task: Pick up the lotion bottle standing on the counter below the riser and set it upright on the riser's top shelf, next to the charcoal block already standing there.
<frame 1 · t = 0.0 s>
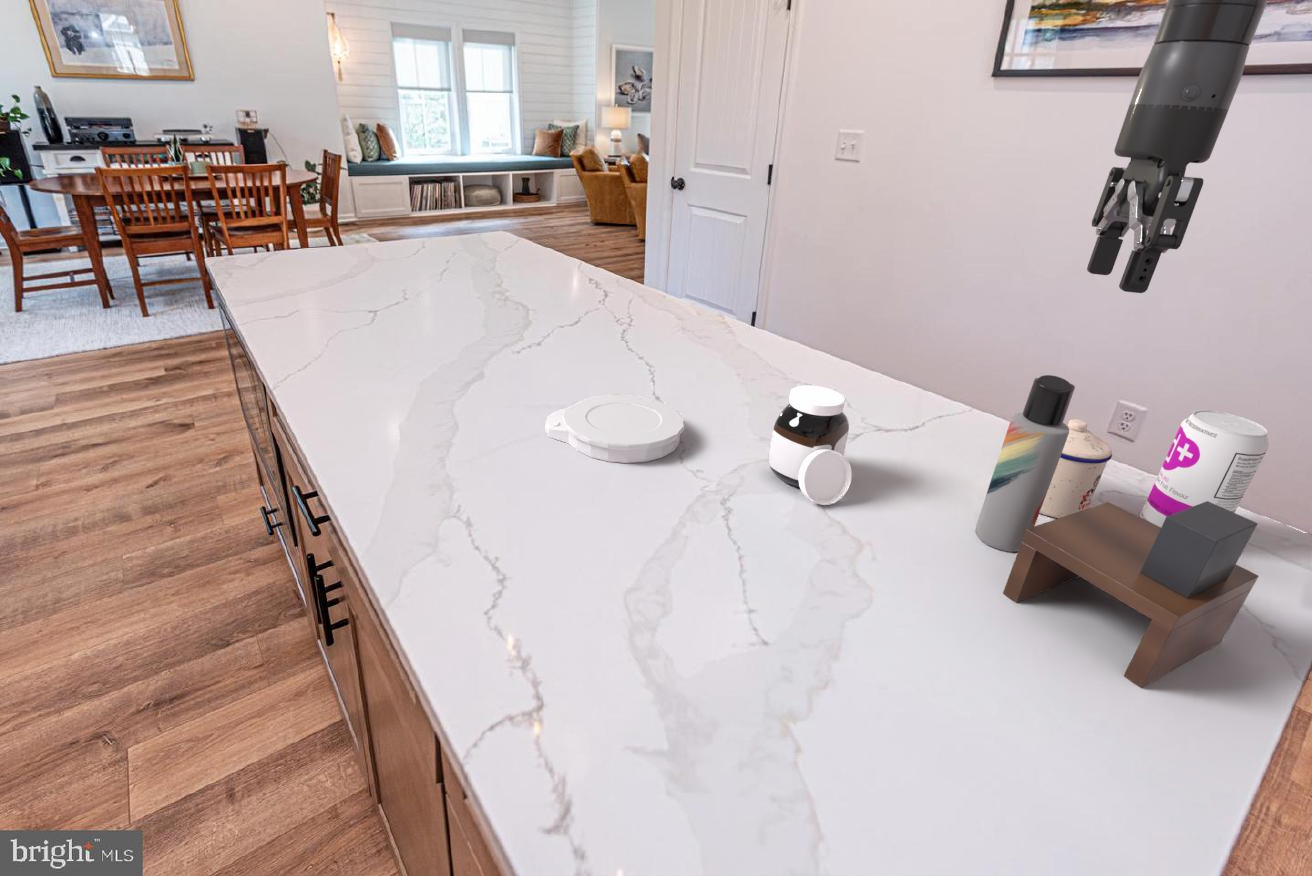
hand: (1113, 282, 68), 30 cm above the worktop, tool pointing down, fingers open, 8 cm apart
supplement can: (1175, 533, 84), on the worktop
charcoal block: (1183, 575, 61), point 8 cm above the worktop, touching riser
lotion bottle: (999, 540, 80), on the worktop
riser: (1108, 617, 68), on the worktop
spread jar: (809, 484, 89), on the worktop
lid: (613, 436, 98), on the worktop
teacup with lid: (1046, 498, 90), on the worktop
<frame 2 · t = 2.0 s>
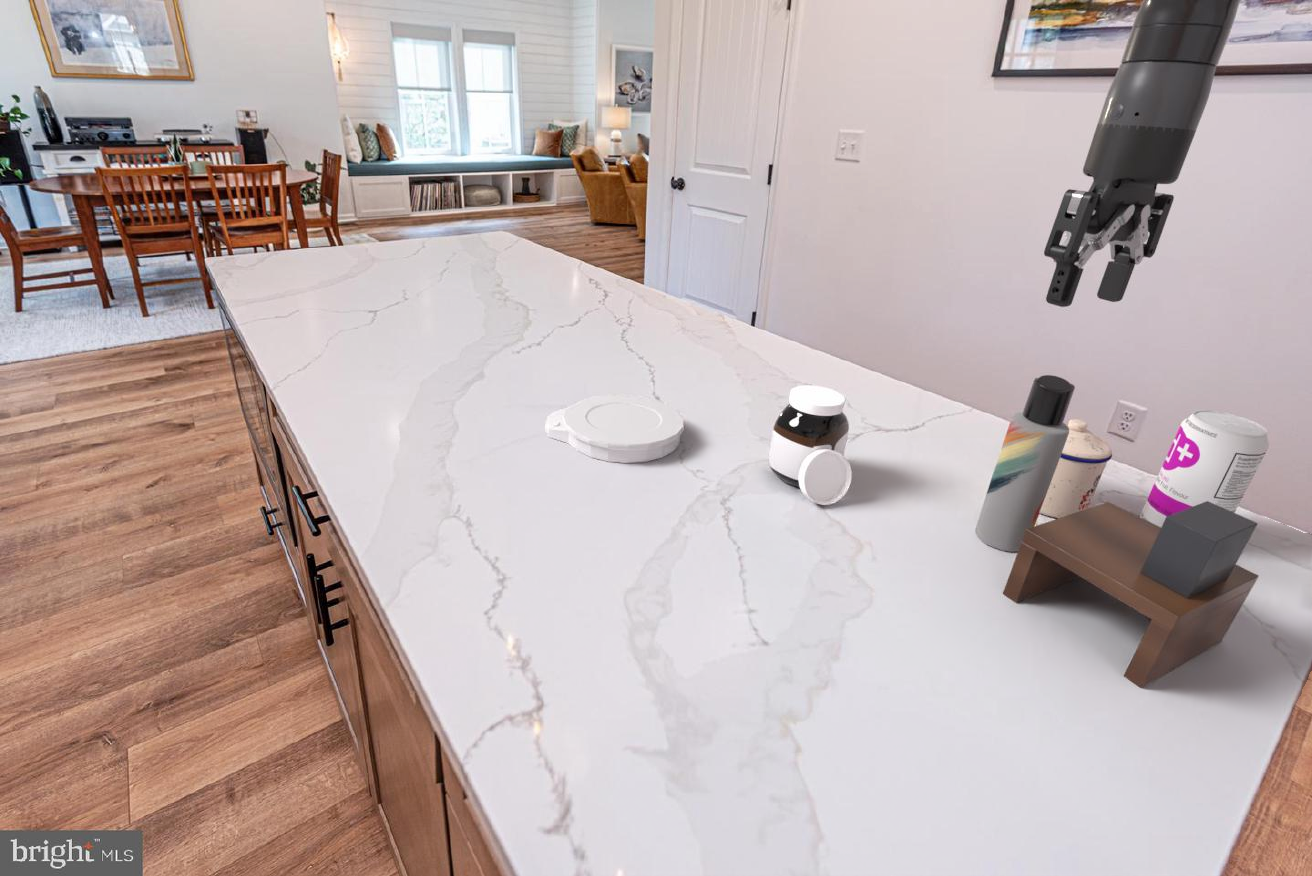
hand: (1083, 302, 67), 28 cm above the worktop, tool pointing down, fingers open, 8 cm apart
nothing on the worktop moved.
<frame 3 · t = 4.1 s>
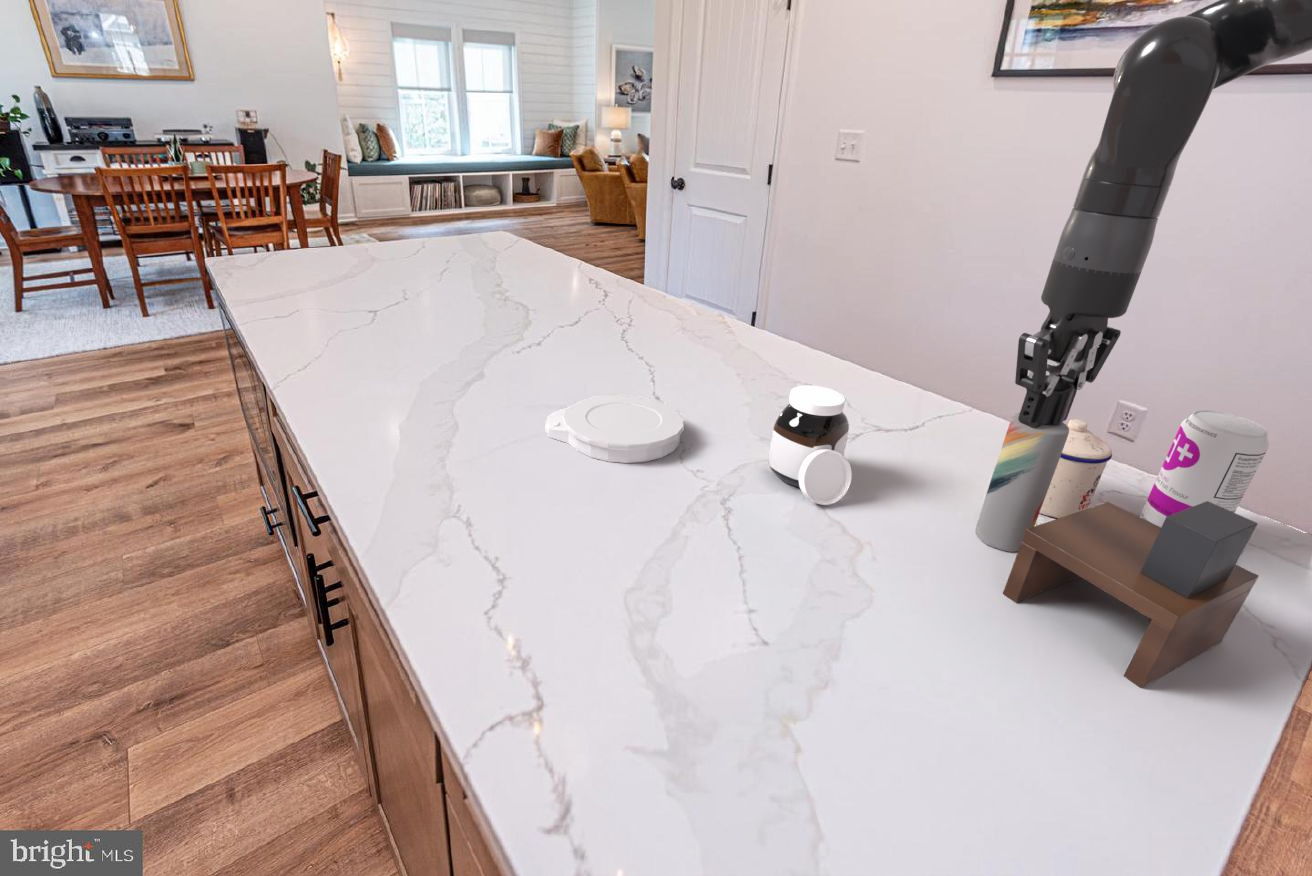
hand: (1041, 421, 73), 15 cm above the worktop, tool pointing down, fingers closed on lotion bottle, 4 cm apart
lotion bottle: (999, 540, 80), on the worktop, touching gripper
everything else where it was.
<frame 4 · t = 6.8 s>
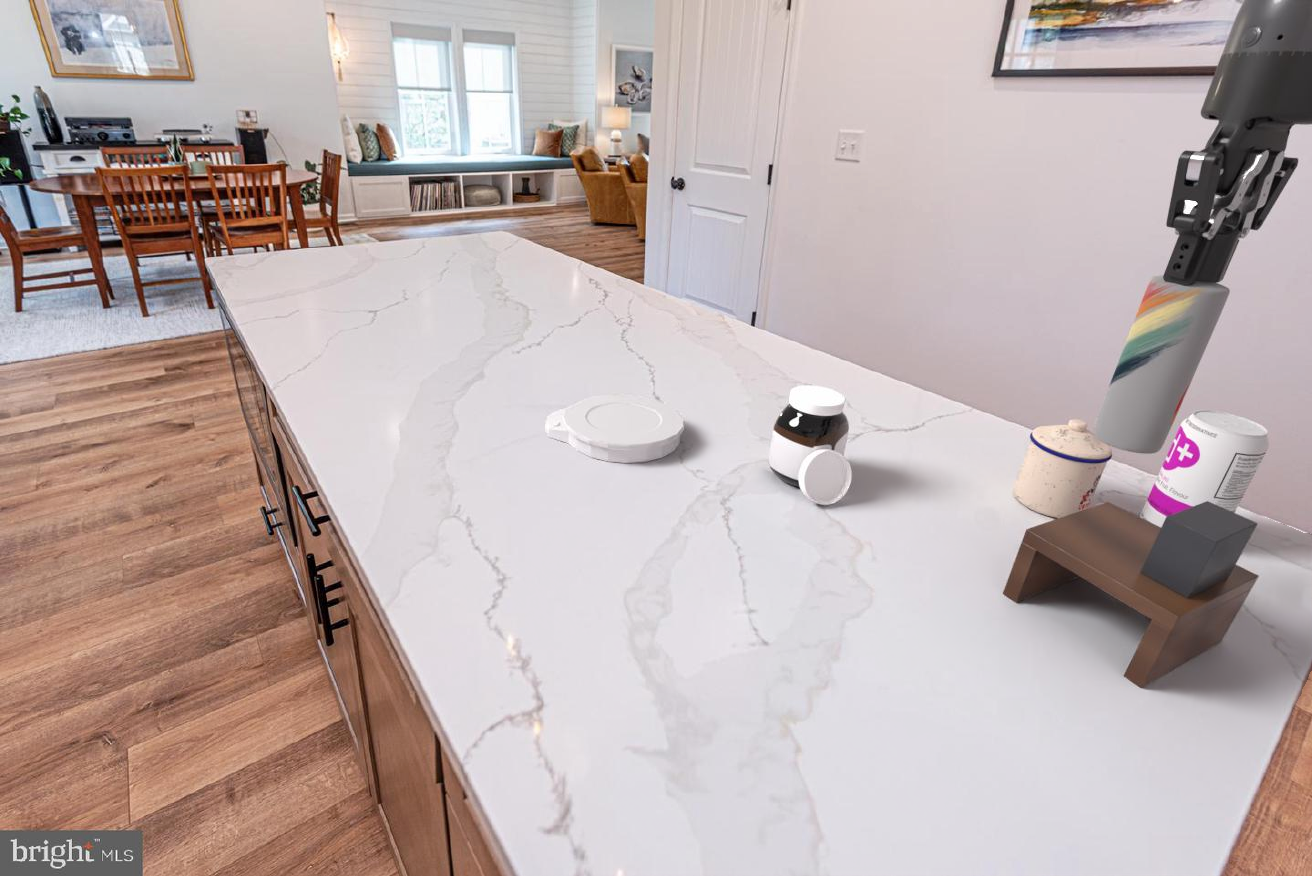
hand: (1191, 281, 58), 33 cm above the worktop, tool pointing down, fingers closed on lotion bottle, 4 cm apart
lotion bottle: (1124, 443, 64), point 17 cm above the worktop, touching gripper
everything else where it was.
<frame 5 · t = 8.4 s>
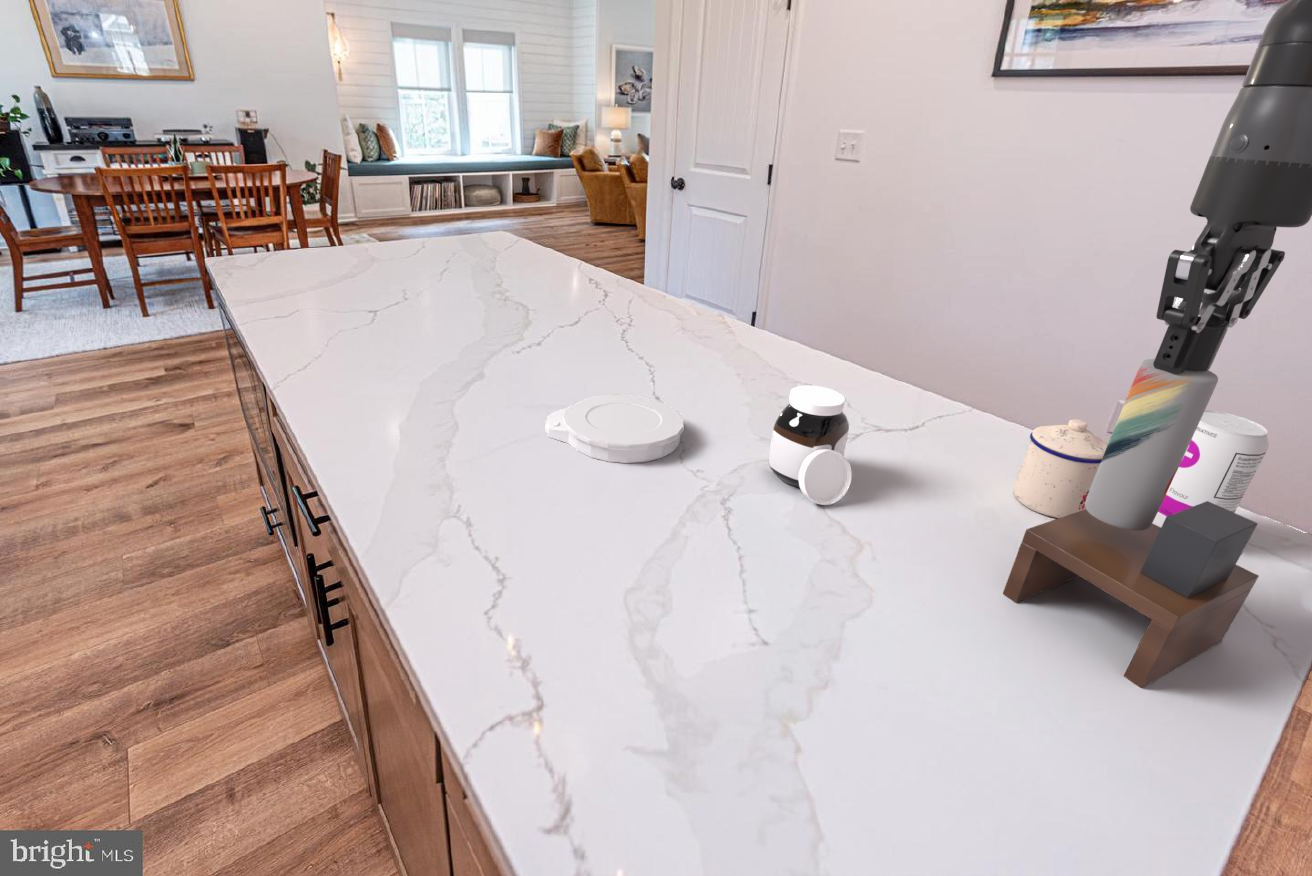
hand: (1181, 367, 59), 26 cm above the worktop, tool pointing down, fingers closed on lotion bottle, 4 cm apart
lotion bottle: (1115, 517, 66), point 10 cm above the worktop, touching gripper
everything else where it was.
when the fingers open (23 cm above the worktop, at t = 9.5 s): lotion bottle stays where it is, resting on riser.
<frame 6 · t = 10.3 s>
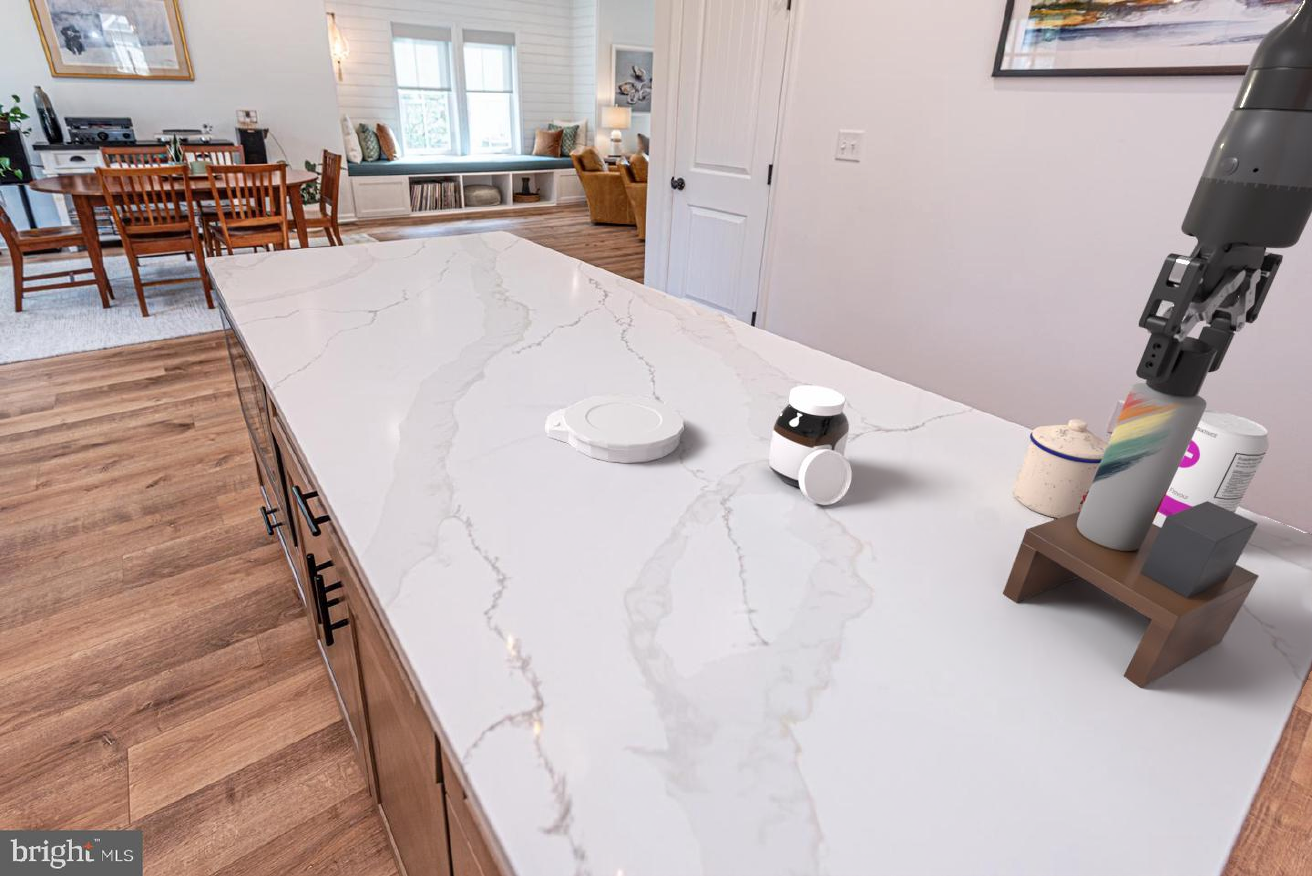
hand: (1176, 374, 59), 25 cm above the worktop, tool pointing down, fingers open, 8 cm apart
lotion bottle: (1106, 537, 67), point 8 cm above the worktop, touching riser
everything else where it was.
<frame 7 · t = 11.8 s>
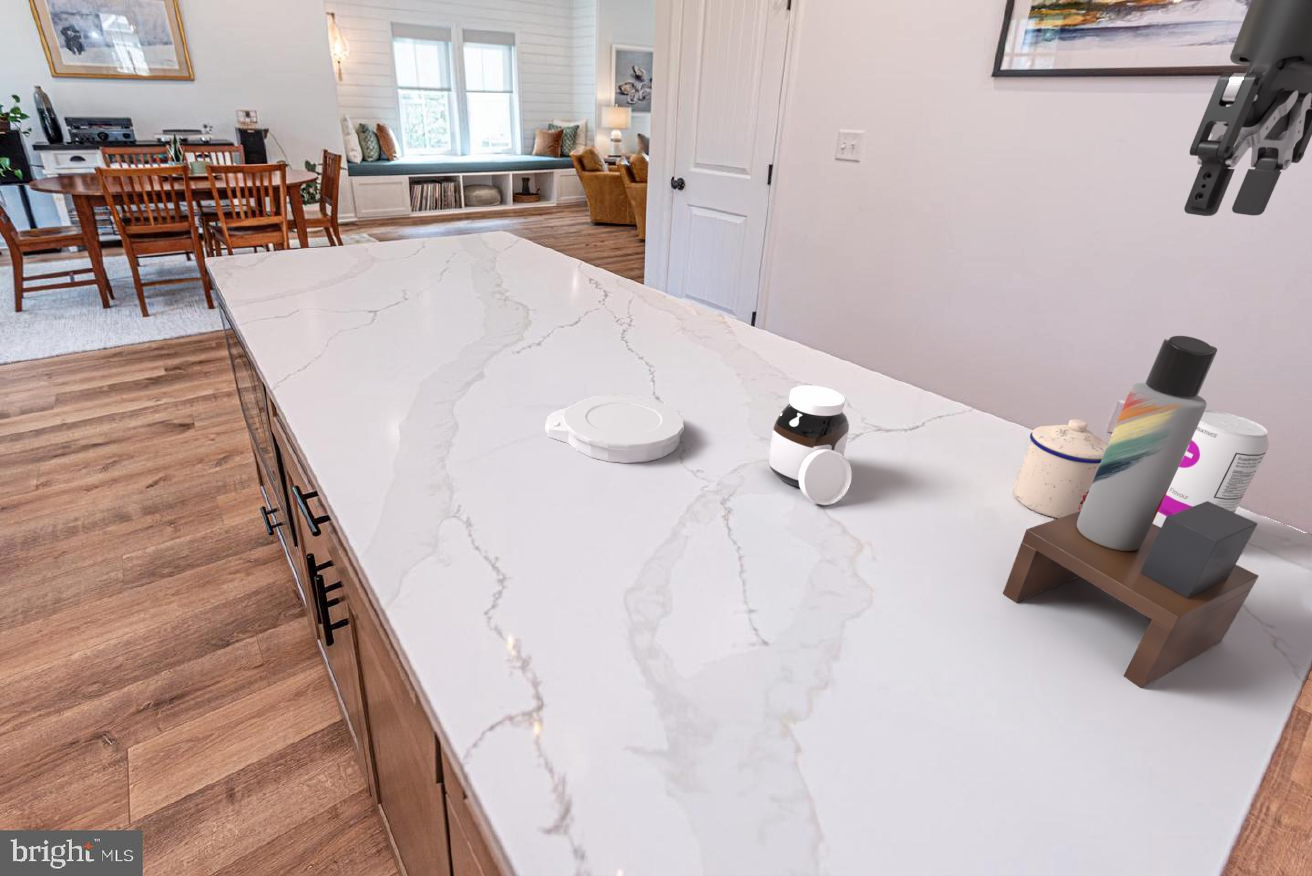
hand: (1223, 214, 59), 38 cm above the worktop, tool pointing down, fingers open, 8 cm apart
nothing on the worktop moved.
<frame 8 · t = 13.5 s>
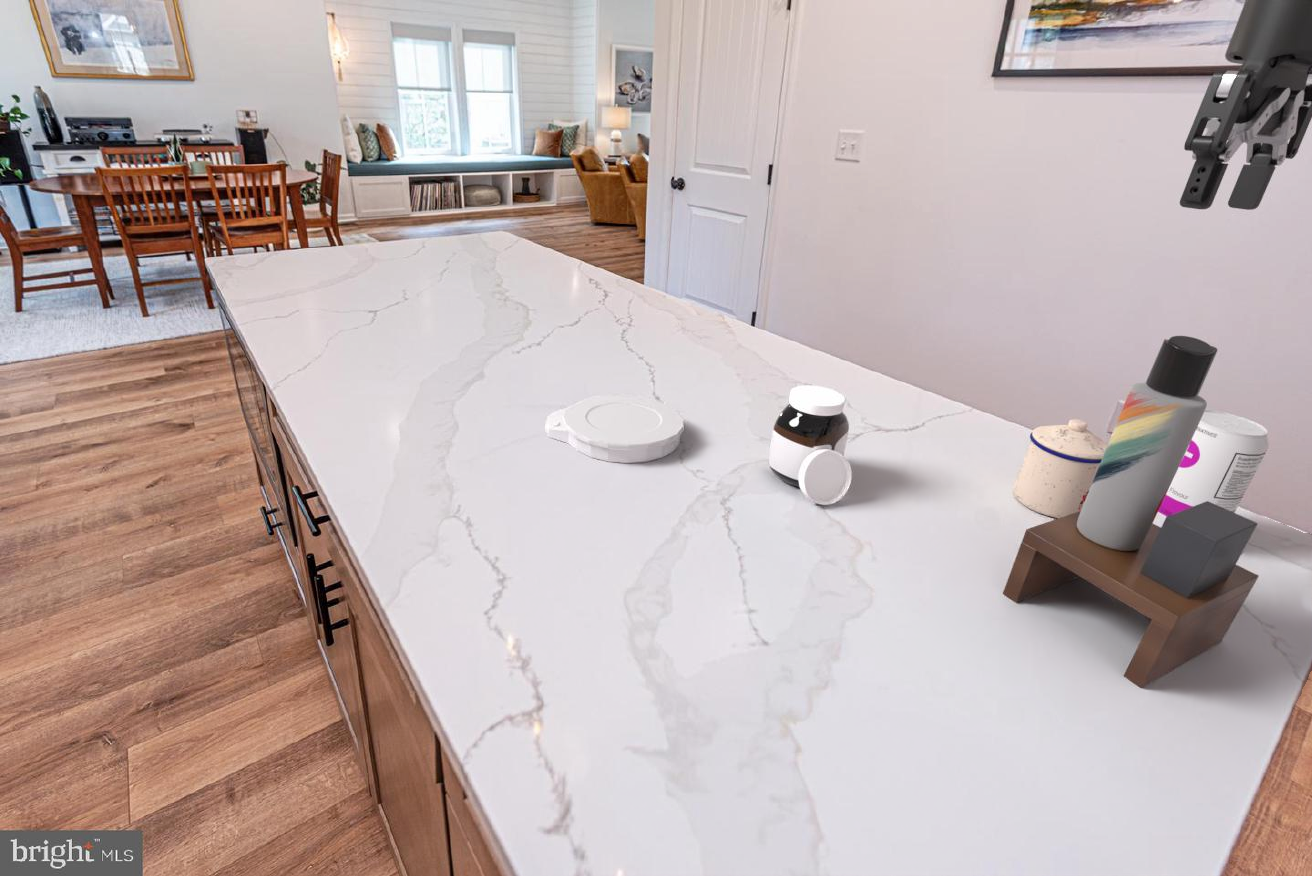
hand: (1218, 208, 61), 38 cm above the worktop, tool pointing down, fingers open, 8 cm apart
nothing on the worktop moved.
at the end: lotion bottle inside the target area (0.1 cm from its centre), point 7.8 cm above the worktop; lotion bottle tilted 0°; charcoal block moved 0.0 cm from its start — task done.
